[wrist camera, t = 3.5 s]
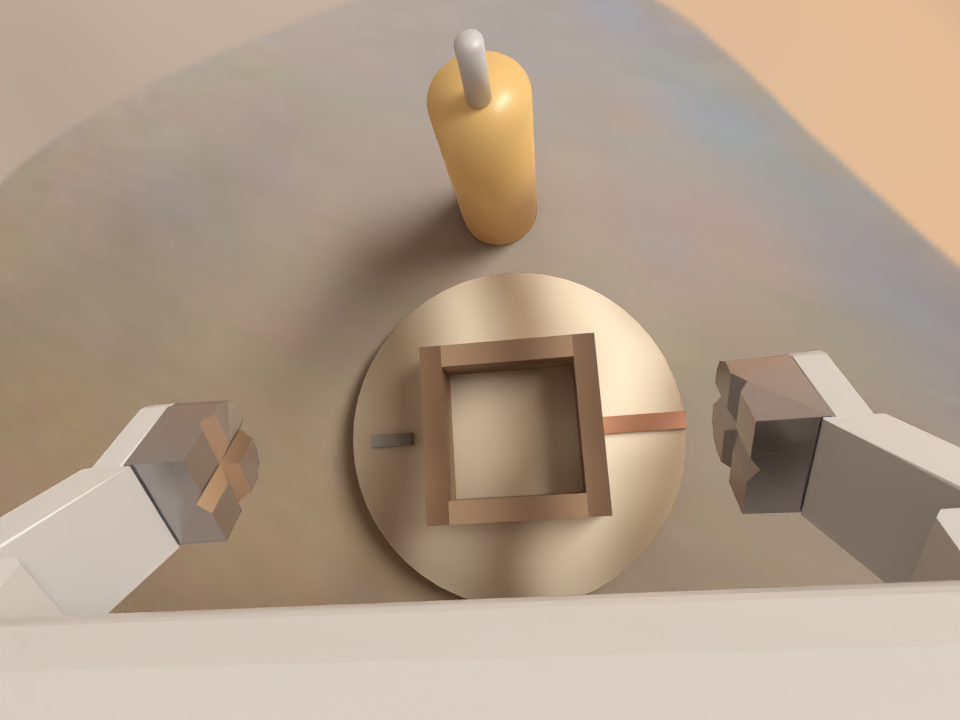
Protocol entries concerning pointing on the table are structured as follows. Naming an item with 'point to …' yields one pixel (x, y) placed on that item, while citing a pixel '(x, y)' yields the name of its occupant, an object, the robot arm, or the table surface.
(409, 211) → the table surface
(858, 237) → the table surface
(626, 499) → the dial plate
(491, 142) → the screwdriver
